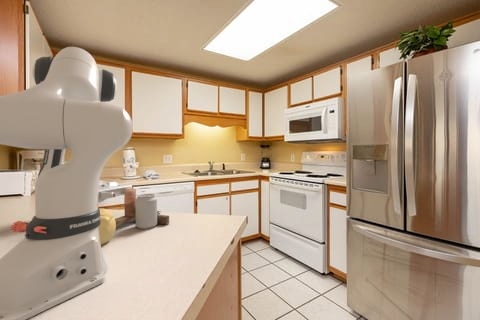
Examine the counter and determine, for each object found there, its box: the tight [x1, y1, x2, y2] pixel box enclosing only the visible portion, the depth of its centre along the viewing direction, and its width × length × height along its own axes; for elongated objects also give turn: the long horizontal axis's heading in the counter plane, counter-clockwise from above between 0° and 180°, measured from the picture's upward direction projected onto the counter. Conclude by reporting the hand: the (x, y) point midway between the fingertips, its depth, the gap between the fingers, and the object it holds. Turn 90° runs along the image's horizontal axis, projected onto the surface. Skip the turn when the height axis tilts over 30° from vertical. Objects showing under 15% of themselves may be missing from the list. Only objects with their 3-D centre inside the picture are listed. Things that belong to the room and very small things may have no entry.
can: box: [135, 193, 158, 230], centre depth 86 cm, size 8×8×12 cm
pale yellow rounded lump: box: [99, 207, 116, 246], centre depth 70 cm, size 11×12×11 cm
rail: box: [115, 210, 162, 232], centre depth 92 cm, size 28×2×1 cm, turn 162°
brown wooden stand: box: [115, 188, 170, 227], centre depth 85 cm, size 14×16×13 cm
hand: (123, 193), depth 90 cm, fingers open, 8 cm apart
